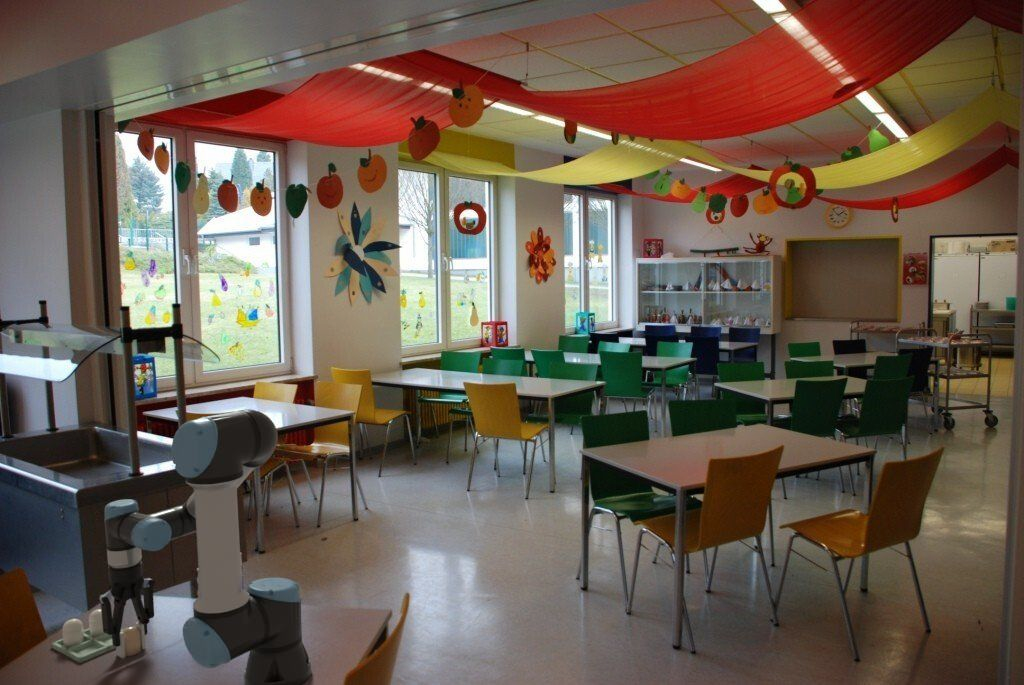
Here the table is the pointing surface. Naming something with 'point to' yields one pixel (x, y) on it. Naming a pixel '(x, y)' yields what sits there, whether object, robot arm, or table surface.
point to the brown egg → (132, 641)
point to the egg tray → (86, 647)
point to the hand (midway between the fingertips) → (131, 652)
